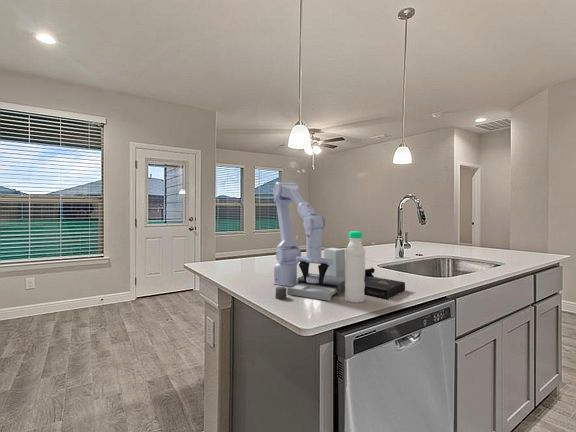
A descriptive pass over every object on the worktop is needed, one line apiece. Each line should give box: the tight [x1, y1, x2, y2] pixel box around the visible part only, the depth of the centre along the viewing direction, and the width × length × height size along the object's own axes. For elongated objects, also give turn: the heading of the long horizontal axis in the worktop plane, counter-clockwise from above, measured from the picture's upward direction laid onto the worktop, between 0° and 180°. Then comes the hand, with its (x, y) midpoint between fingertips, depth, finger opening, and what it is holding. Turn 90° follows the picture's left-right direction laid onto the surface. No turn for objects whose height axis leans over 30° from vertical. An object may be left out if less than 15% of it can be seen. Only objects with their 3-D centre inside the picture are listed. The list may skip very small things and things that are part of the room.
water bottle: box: [344, 230, 366, 304], centre depth 114 cm, size 7×7×25 cm
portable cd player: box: [364, 276, 406, 301], centre depth 128 cm, size 16×17×4 cm
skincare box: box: [323, 247, 346, 278], centre depth 142 cm, size 8×6×15 cm
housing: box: [297, 272, 346, 296], centre depth 130 cm, size 18×11×4 cm, turn 62°
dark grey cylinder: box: [275, 286, 287, 300], centre depth 118 cm, size 4×4×4 cm
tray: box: [286, 283, 338, 302], centre depth 122 cm, size 18×11×2 cm, turn 62°
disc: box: [306, 275, 319, 283], centre depth 121 cm, size 6×6×2 cm
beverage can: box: [365, 267, 376, 277], centre depth 145 cm, size 9×8×12 cm
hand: (313, 282), depth 121 cm, fingers closed on disc, 6 cm apart
